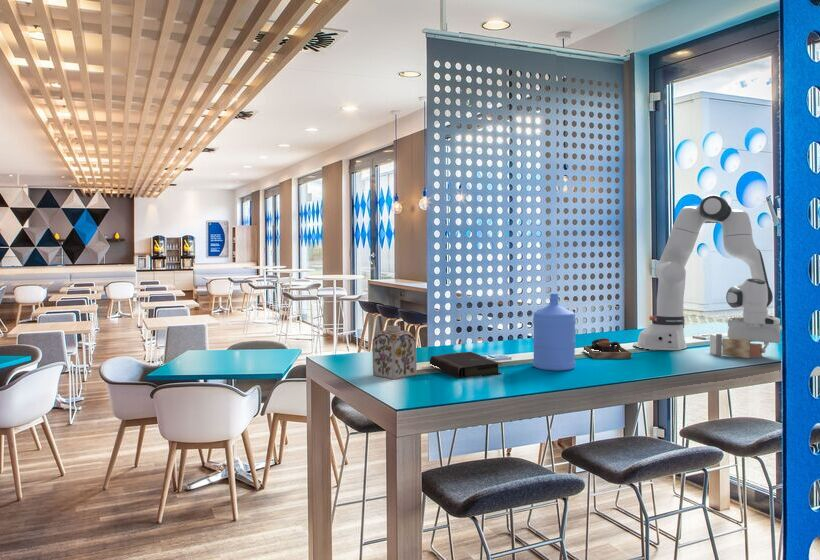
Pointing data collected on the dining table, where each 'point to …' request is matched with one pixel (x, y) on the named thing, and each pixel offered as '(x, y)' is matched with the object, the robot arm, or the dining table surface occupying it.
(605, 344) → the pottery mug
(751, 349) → the salmon pink block
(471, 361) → the diary
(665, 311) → the robot arm
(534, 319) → the water jug
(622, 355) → the frame
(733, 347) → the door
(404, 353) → the decorative jar
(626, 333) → the dining table surface
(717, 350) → the light grey slab
